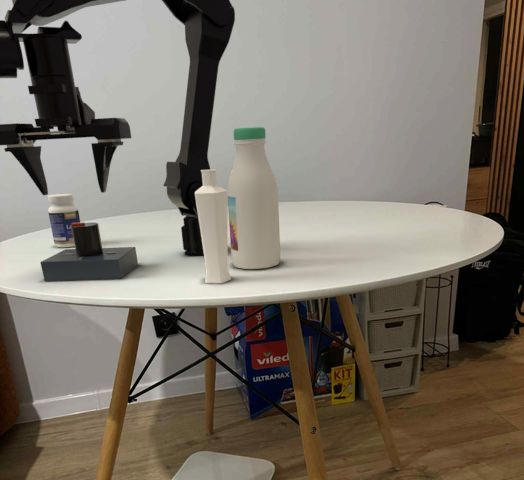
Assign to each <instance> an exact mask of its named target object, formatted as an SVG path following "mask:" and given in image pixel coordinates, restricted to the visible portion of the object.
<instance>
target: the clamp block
mask: <svg viewBox="0 0 524 480" xmlns="http://www.w3.org/2000/svg"><path fill="white" fill-rule="evenodd" d="M102 249H103V253H102V254H99V255H94V256H77V254H76V249H75V248H66V249H63V250H61V251H59V252H57V253H55V254H53V255H51V256H50V257H47V258H45V259H43V260H41V261H40V267H41V271H42V275H43V281H44V282H61V281H62V282H63V281H64V282H65V281H93V280H94V281H96V280H97V281H98V280H99V281H100V280H121V279H123V278H124V277H125V276H126V275H127V274H129V273H130V272H131V271H132V270H134V269H135V268H136V267H137V266H138V265H139V261H138V255H137V249H136V246H122V247H121V246H119V247H102Z"/></svg>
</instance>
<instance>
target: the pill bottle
mask: <svg viewBox="0 0 524 480" xmlns="http://www.w3.org/2000/svg"><path fill="white" fill-rule="evenodd" d="M47 199H48V202H49V203H50V206H49V208H48V209H47V212H48V213H47V214H48V218H49V224H50V229H51V234H52V239H53V243H54V246H55V247H57V248H72V247H75V244H74V239H73V234H72V229H71V226H72V225H71V223H81V217H80V212H79V208H78V206H76V205H75V204H74V194H73V193H72V194H71V193H60V194H59V193H58V194H48V195H47Z"/></svg>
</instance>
